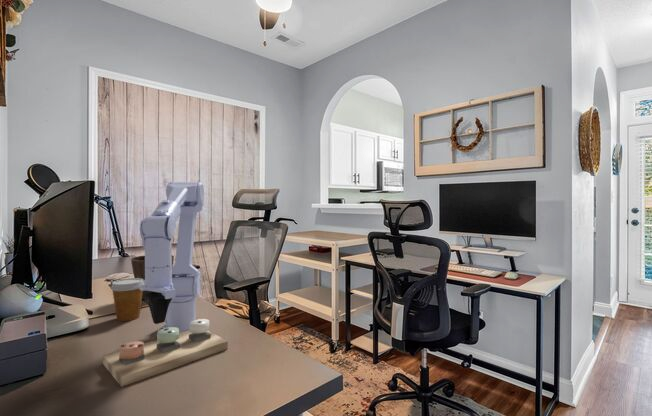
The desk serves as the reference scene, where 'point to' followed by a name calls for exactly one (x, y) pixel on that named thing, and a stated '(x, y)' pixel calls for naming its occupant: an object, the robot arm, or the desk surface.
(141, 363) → the button panel
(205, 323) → the off-white button
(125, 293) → the disposable coffee cup
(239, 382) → the desk surface
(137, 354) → the terracotta button
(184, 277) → the robot arm
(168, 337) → the sage button
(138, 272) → the plant pot
